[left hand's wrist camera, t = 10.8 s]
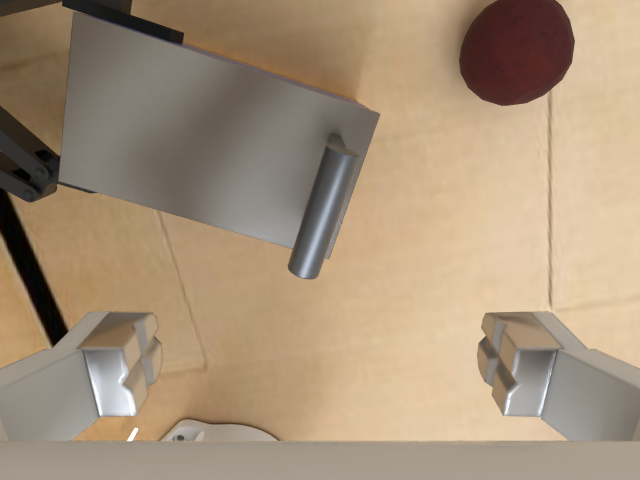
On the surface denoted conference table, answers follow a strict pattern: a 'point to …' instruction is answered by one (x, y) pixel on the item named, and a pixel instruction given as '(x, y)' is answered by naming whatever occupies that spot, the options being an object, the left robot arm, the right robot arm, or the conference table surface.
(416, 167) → the conference table surface
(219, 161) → the lid
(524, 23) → the dark red ball
